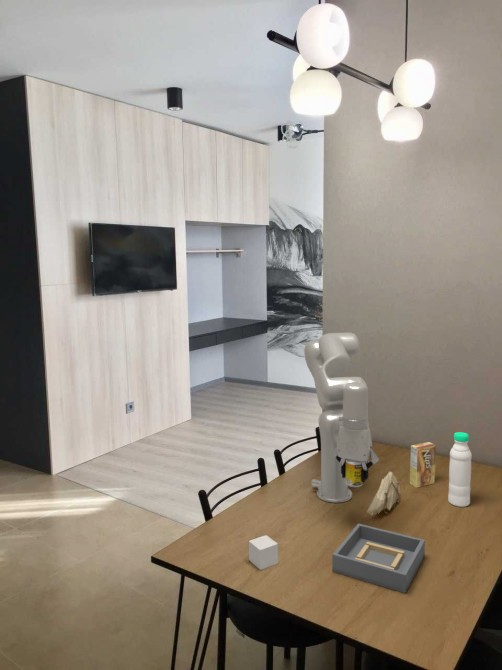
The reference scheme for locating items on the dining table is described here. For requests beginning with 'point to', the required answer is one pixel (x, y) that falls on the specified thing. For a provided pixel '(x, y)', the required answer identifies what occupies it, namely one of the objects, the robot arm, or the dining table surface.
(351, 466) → the supplement bottle
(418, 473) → the candy box
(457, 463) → the water bottle
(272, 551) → the white cube
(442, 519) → the dining table surface
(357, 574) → the walled box
